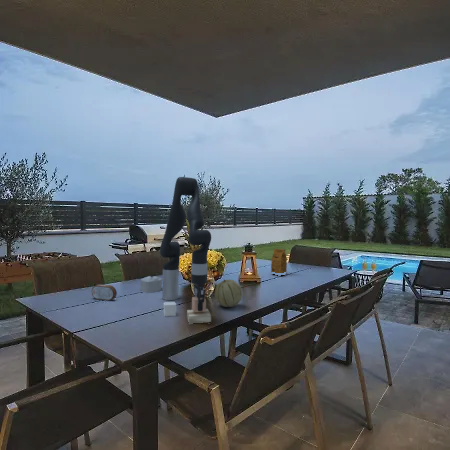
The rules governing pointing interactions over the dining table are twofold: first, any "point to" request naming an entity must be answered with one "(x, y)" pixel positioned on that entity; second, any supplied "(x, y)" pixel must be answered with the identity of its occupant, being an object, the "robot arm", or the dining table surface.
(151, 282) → the lumpy-topped squat cylinder
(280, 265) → the coffee package
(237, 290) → the cantaloupe
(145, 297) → the dining table surface
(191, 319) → the gray block
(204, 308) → the terracotta cube
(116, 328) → the dining table surface
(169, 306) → the offwhite cube
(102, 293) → the tin
